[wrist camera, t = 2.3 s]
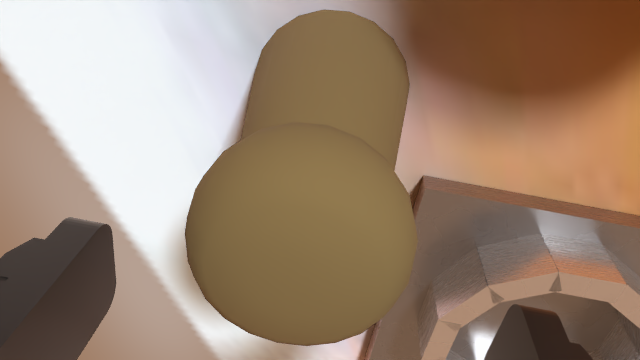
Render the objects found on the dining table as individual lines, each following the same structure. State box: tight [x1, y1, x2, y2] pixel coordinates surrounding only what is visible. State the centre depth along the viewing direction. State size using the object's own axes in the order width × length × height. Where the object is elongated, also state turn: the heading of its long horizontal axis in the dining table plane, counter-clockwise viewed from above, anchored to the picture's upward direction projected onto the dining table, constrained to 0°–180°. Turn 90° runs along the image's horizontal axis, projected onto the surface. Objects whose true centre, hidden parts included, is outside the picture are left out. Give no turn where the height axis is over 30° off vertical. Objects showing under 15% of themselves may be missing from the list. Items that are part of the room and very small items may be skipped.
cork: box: [185, 10, 418, 346], centre depth 14 cm, size 6×6×11 cm
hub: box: [365, 176, 640, 360], centre depth 22 cm, size 13×12×3 cm
